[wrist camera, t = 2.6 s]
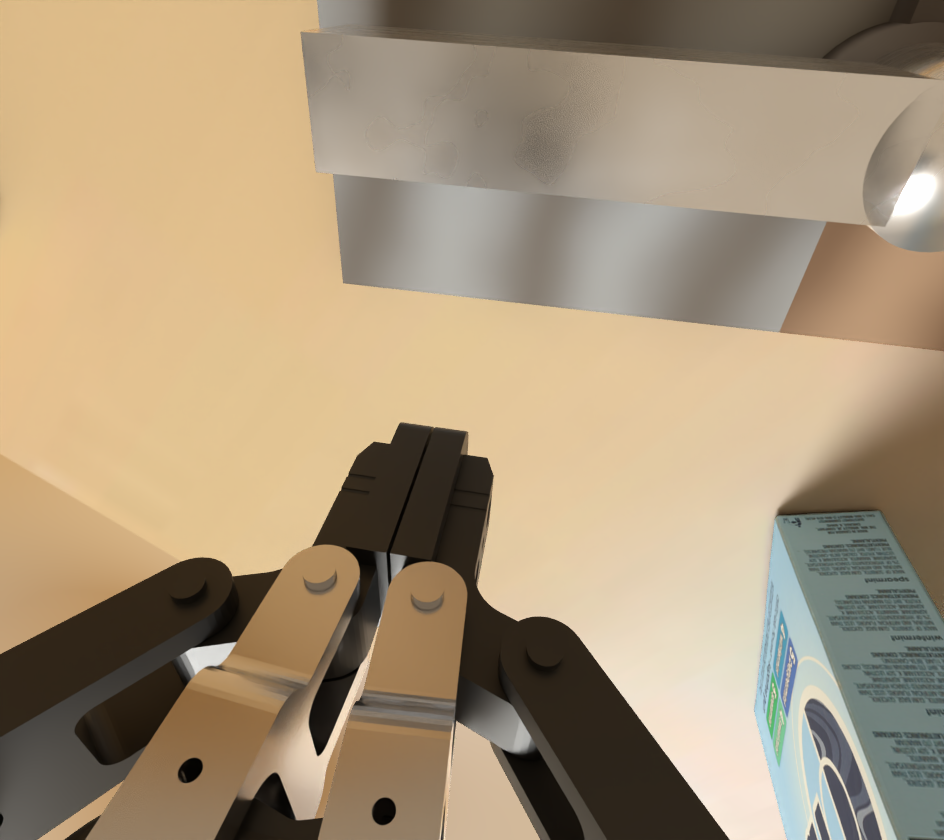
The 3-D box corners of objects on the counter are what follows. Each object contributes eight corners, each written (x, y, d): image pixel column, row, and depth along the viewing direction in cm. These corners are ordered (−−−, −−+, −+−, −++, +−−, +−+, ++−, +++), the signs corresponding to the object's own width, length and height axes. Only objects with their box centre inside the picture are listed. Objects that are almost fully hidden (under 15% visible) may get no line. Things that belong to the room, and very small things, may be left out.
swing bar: (1023, 49, 14) (1134, 64, 11) (934, 214, 16) (1006, 260, 14) (348, 1, 15) (297, 4, 13) (358, 160, 18) (318, 192, 15)
